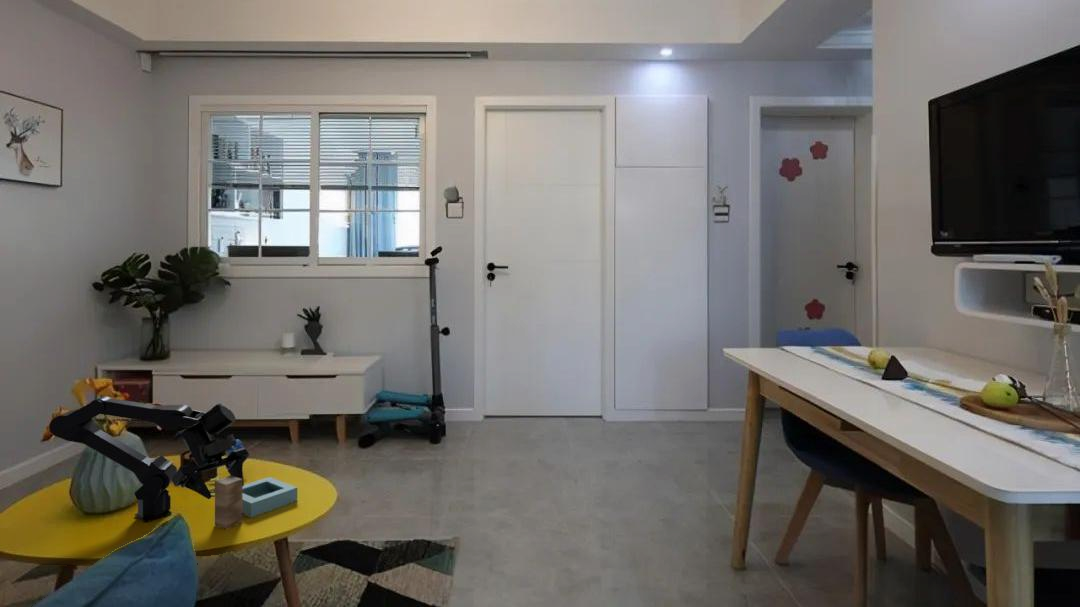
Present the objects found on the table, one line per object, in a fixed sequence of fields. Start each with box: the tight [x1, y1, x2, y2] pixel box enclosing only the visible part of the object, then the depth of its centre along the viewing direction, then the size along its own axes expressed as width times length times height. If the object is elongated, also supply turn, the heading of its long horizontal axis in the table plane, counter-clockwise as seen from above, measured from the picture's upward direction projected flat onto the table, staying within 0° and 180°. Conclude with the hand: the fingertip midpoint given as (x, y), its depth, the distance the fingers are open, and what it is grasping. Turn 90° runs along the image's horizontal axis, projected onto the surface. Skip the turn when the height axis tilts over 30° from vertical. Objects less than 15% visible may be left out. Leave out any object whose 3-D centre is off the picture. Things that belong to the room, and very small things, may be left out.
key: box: [208, 476, 221, 497], centre depth 169 cm, size 7×12×2 cm, turn 50°
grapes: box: [225, 438, 250, 471], centre depth 182 cm, size 12×7×12 cm, turn 11°
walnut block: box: [214, 475, 244, 530], centre depth 147 cm, size 5×5×12 cm
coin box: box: [242, 476, 298, 518], centre depth 161 cm, size 14×14×4 cm
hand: (226, 492), depth 147 cm, fingers open, 9 cm apart
